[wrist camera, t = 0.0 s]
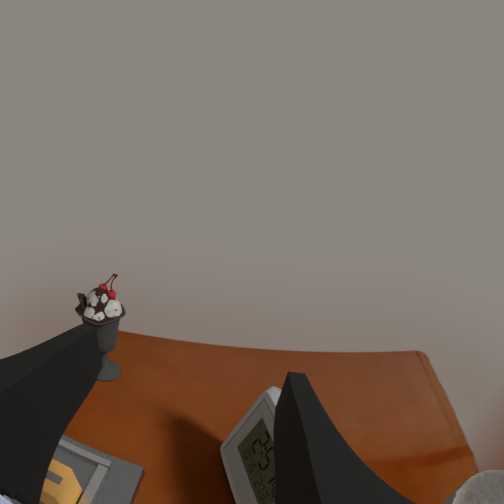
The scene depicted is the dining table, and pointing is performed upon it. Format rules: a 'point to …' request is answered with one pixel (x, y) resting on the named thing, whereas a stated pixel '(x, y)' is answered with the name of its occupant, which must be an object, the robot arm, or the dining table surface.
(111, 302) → the sundae
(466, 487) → the pillar candle
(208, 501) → the dining table surface
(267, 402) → the digital clock
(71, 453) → the grey metal tray
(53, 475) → the cardboard box
